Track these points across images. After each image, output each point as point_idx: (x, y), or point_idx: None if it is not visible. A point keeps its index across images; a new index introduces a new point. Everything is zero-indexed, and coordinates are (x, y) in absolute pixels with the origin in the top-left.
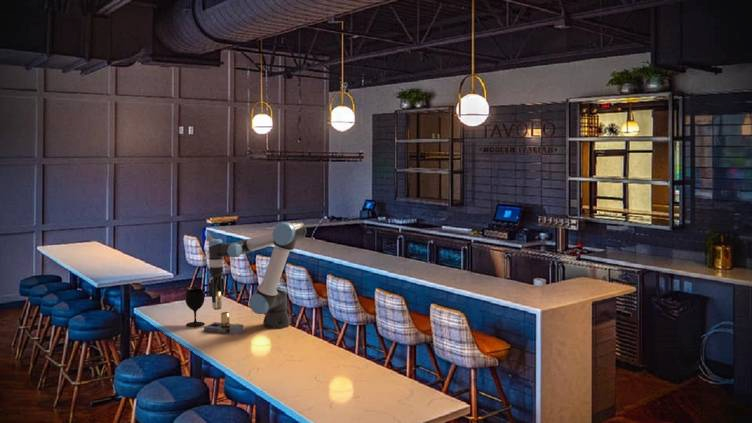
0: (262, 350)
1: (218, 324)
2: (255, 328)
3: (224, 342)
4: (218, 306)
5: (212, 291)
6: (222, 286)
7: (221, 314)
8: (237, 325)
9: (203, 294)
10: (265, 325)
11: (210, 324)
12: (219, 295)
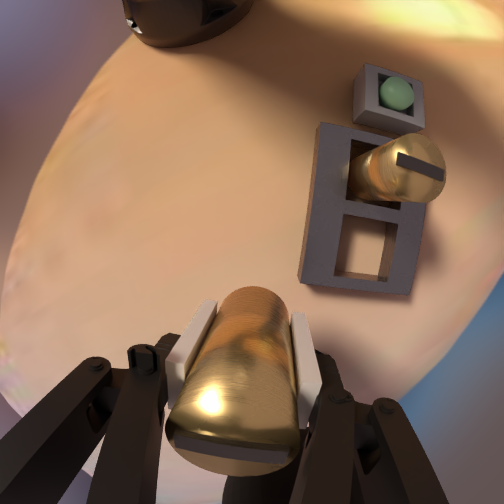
0: (478, 14)
1: (338, 242)
2: (272, 48)
3: (492, 128)
4: (280, 309)
5: (420, 452)
6: (68, 433)
7: (438, 190)
8: (407, 85)
9: (290, 496)
10: (241, 13)
11: (358, 285)
12: (264, 367)
